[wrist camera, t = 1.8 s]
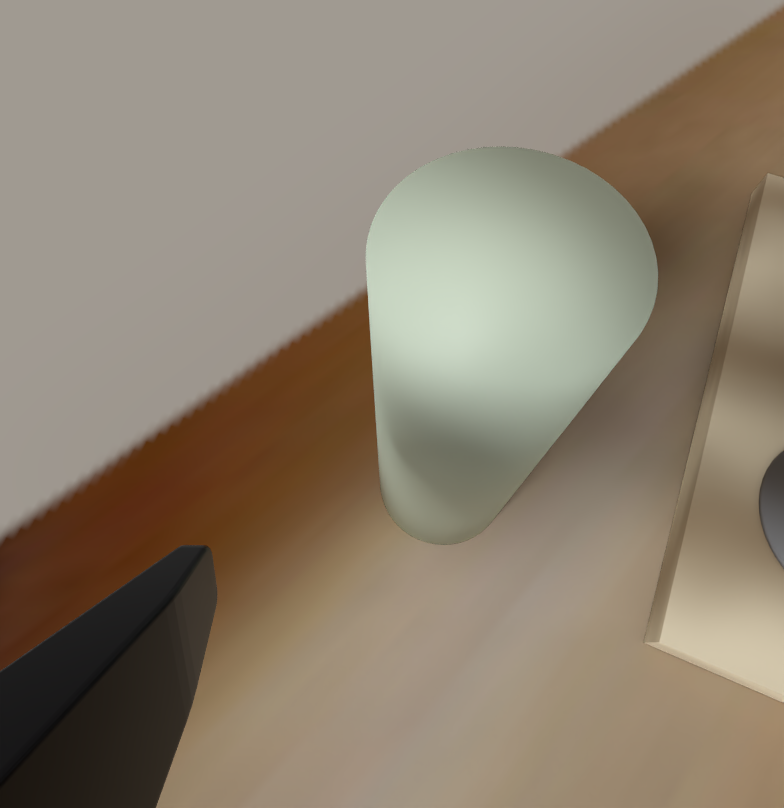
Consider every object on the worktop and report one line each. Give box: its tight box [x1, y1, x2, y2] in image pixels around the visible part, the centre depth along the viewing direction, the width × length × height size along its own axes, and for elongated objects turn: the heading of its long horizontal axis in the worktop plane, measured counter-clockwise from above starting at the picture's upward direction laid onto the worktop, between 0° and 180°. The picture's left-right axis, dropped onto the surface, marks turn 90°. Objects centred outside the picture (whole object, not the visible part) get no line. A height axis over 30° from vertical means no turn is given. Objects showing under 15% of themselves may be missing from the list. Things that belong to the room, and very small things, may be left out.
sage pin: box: [366, 147, 658, 545], centre depth 15 cm, size 4×4×13 cm
